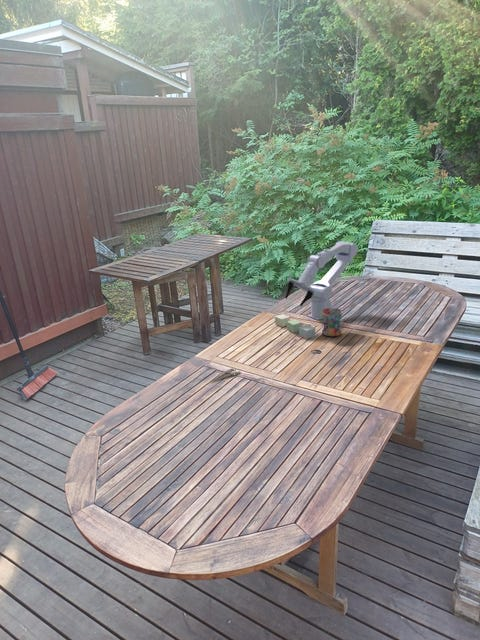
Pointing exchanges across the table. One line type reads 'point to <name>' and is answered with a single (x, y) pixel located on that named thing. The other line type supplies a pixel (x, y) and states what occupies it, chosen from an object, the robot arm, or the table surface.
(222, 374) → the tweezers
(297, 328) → the block sage
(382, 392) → the table surface
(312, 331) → the block bluegrey
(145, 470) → the table surface
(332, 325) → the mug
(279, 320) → the block cream
